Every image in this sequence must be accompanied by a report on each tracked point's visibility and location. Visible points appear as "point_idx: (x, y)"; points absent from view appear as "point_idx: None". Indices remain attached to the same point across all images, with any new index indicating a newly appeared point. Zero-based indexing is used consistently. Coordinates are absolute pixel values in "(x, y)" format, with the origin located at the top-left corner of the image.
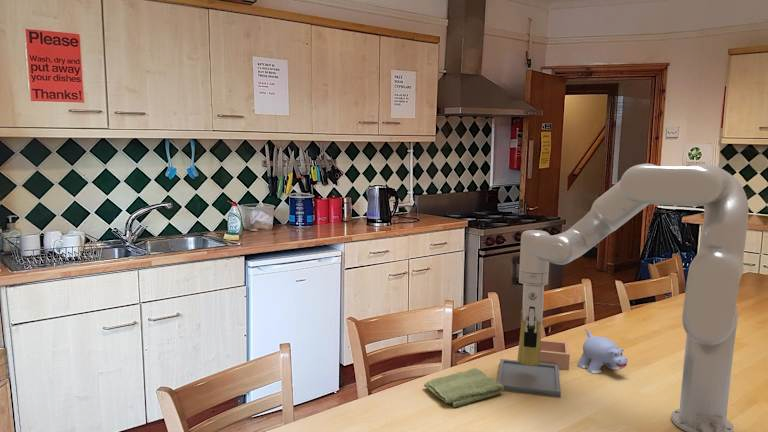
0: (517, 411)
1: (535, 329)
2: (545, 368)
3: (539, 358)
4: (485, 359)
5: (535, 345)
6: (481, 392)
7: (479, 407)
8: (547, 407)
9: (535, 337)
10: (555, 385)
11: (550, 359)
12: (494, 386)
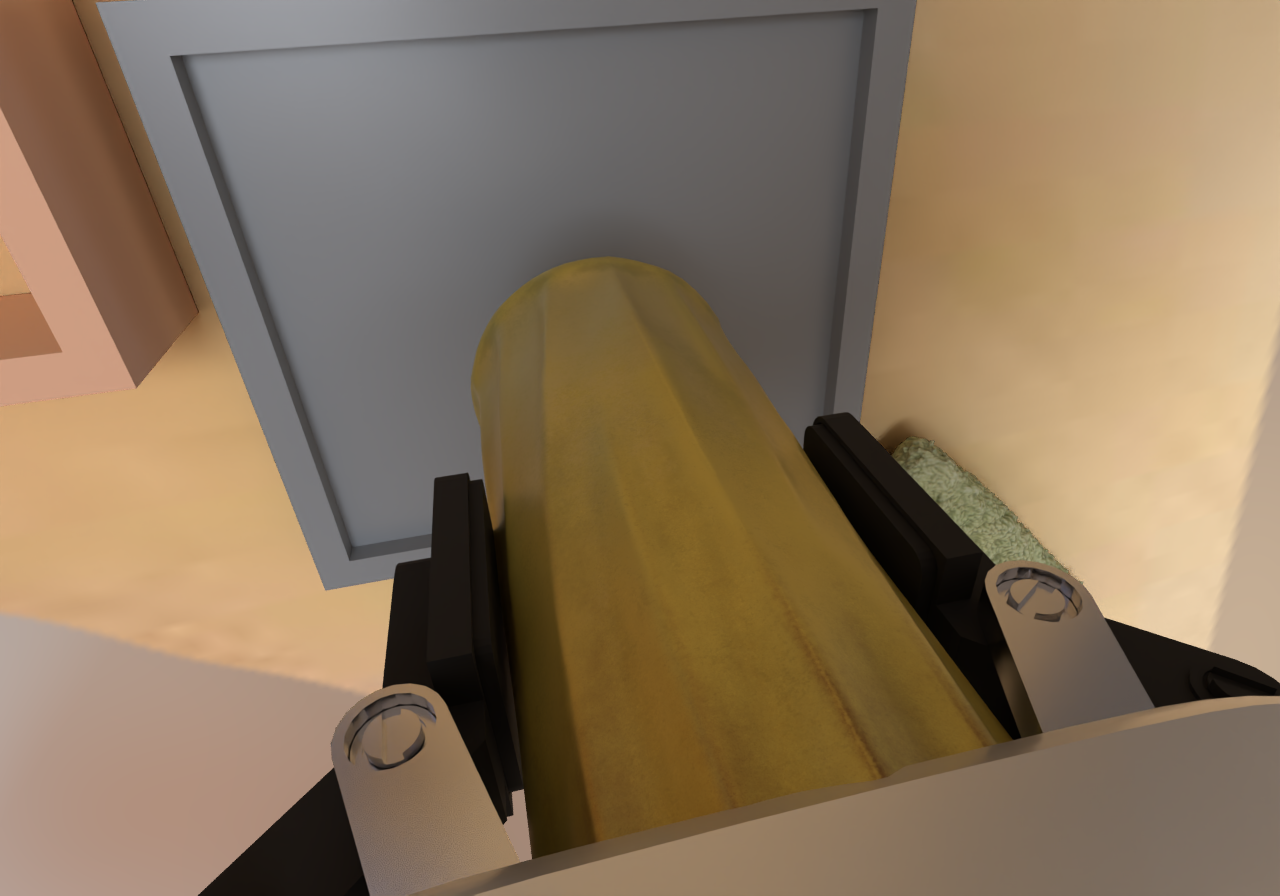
0: (1125, 293)
1: (1105, 635)
2: (265, 168)
3: (640, 288)
4: (305, 661)
5: (857, 431)
6: (1037, 542)
7: (1066, 495)
8: (1078, 81)
9: (928, 514)
10: (705, 22)
11: (70, 129)
12: (983, 504)
